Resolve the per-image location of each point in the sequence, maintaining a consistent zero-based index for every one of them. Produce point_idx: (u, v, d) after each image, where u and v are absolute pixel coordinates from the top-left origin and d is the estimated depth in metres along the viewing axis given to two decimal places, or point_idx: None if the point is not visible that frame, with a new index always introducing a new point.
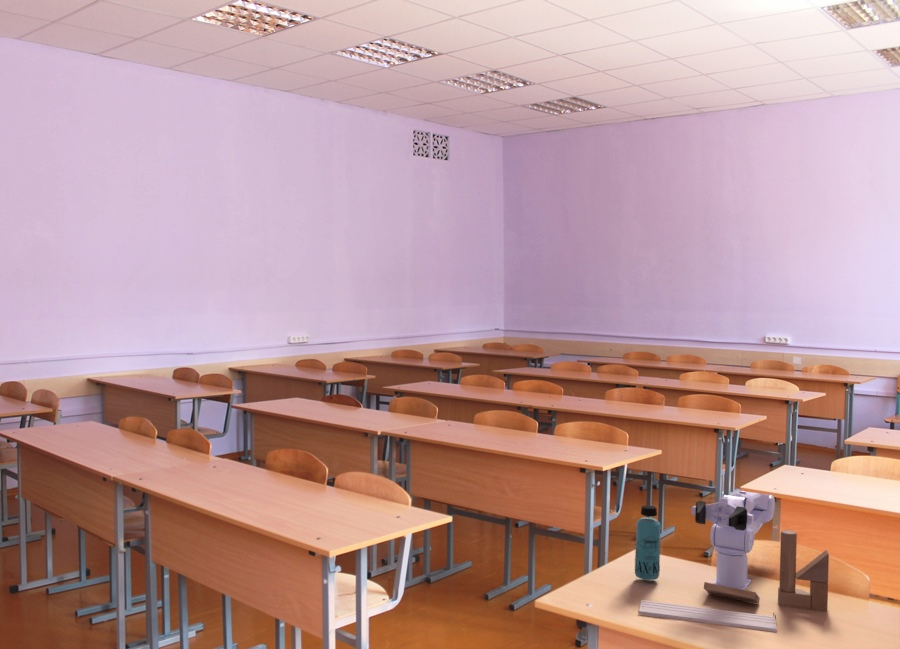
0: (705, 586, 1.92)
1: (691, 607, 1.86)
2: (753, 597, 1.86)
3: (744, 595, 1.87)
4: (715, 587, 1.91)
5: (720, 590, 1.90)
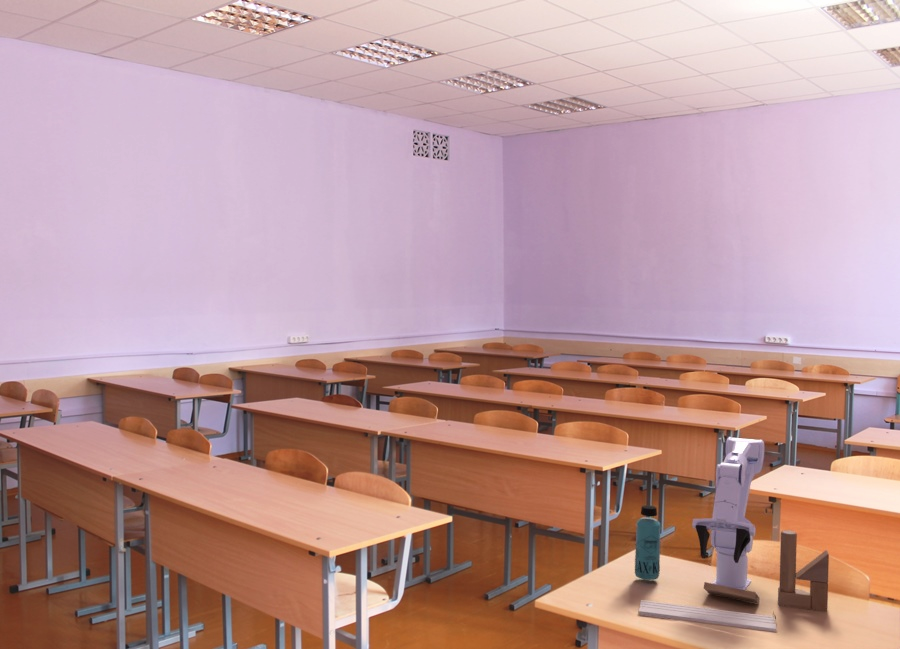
0: (705, 586, 1.92)
1: (691, 607, 1.86)
2: (753, 597, 1.86)
3: (744, 595, 1.87)
4: (715, 587, 1.91)
5: (720, 590, 1.90)
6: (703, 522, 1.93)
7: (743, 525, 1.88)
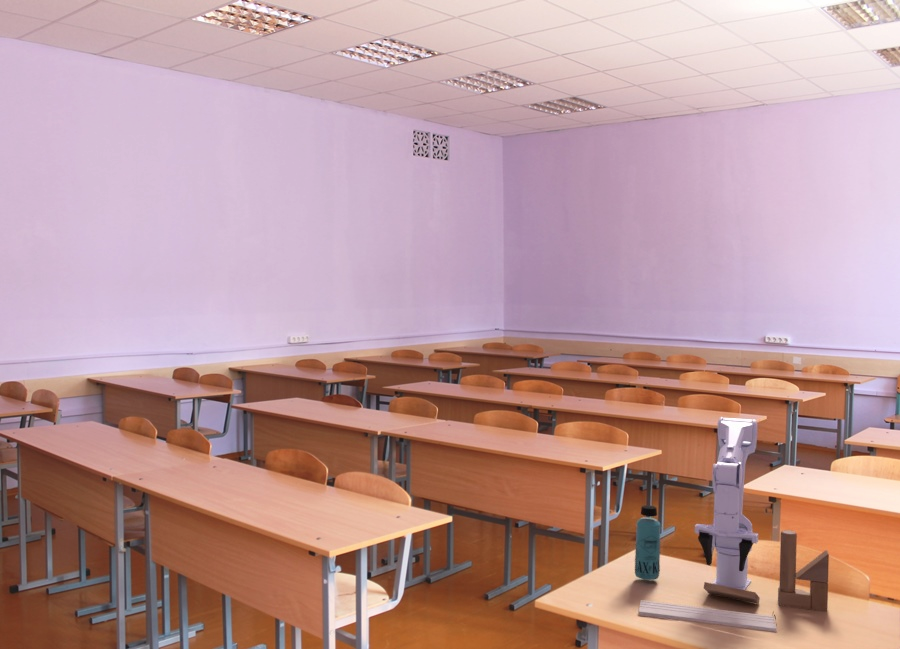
0: (705, 586, 1.92)
1: (691, 607, 1.86)
2: (753, 597, 1.86)
3: (744, 595, 1.87)
4: (715, 587, 1.91)
5: (720, 590, 1.90)
6: None
7: (745, 536, 1.86)
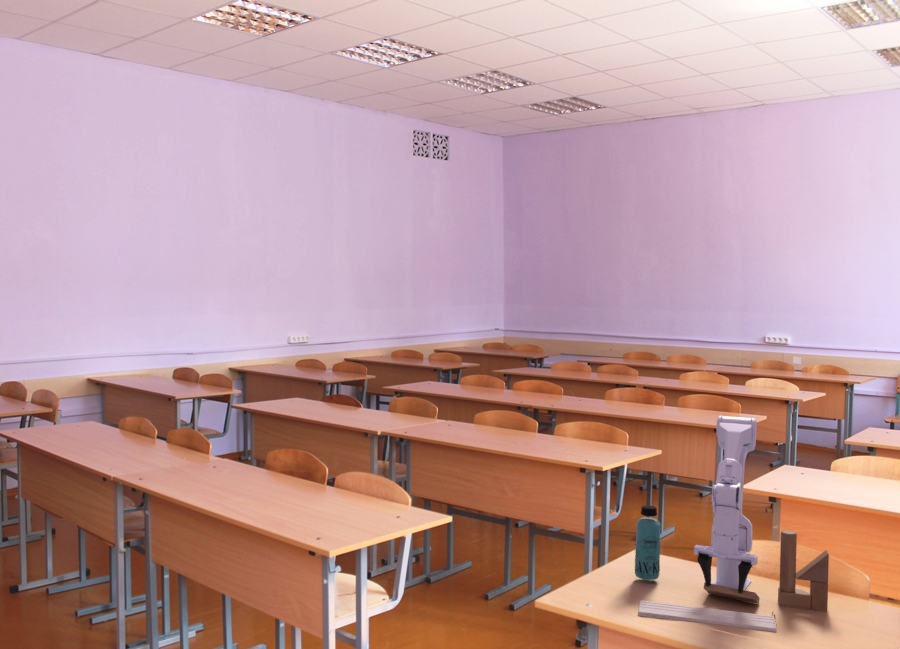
0: (705, 586, 1.92)
1: (690, 607, 1.86)
2: (753, 597, 1.86)
3: (744, 595, 1.87)
4: (715, 587, 1.91)
5: (720, 590, 1.90)
6: None
7: (745, 558, 1.86)
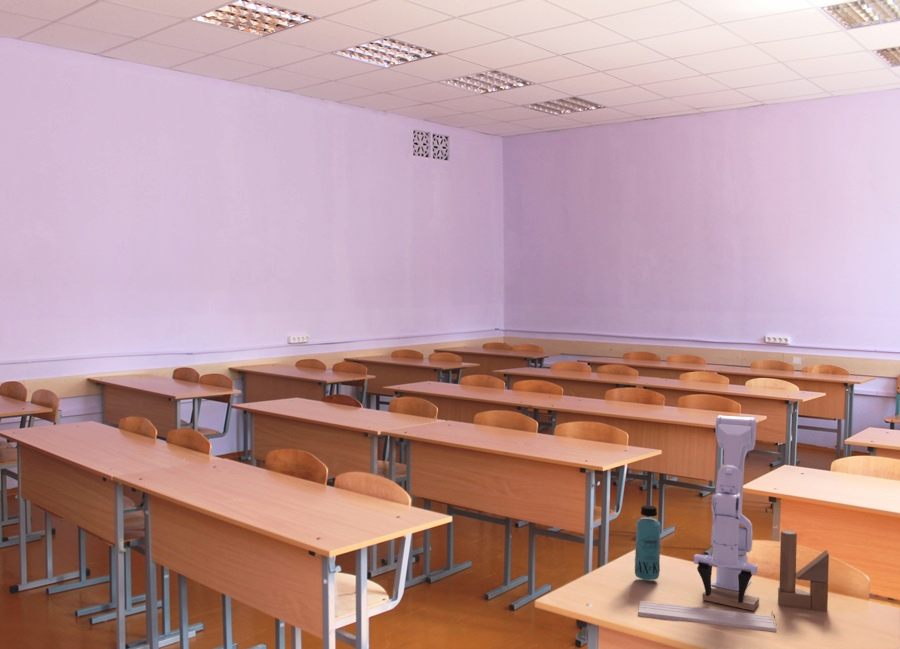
0: (704, 598, 1.92)
1: (690, 607, 1.86)
2: (752, 609, 1.86)
3: (743, 607, 1.87)
4: (714, 599, 1.90)
5: (719, 602, 1.90)
6: None
7: (744, 568, 1.86)
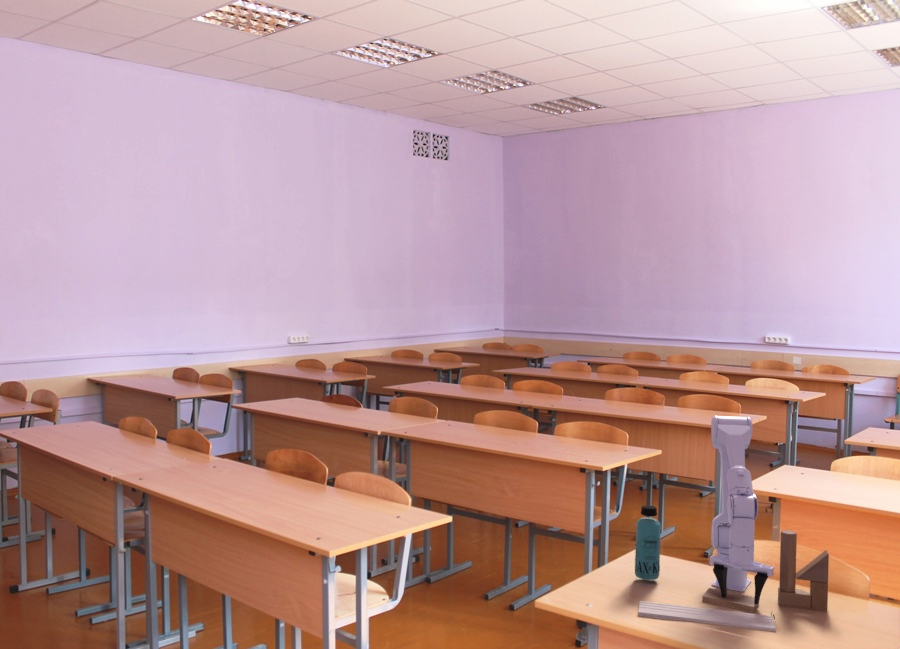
0: (704, 600, 1.92)
1: (689, 607, 1.86)
2: (752, 611, 1.86)
3: (743, 609, 1.87)
4: (714, 601, 1.90)
5: (719, 604, 1.90)
6: None
7: (761, 570, 1.85)
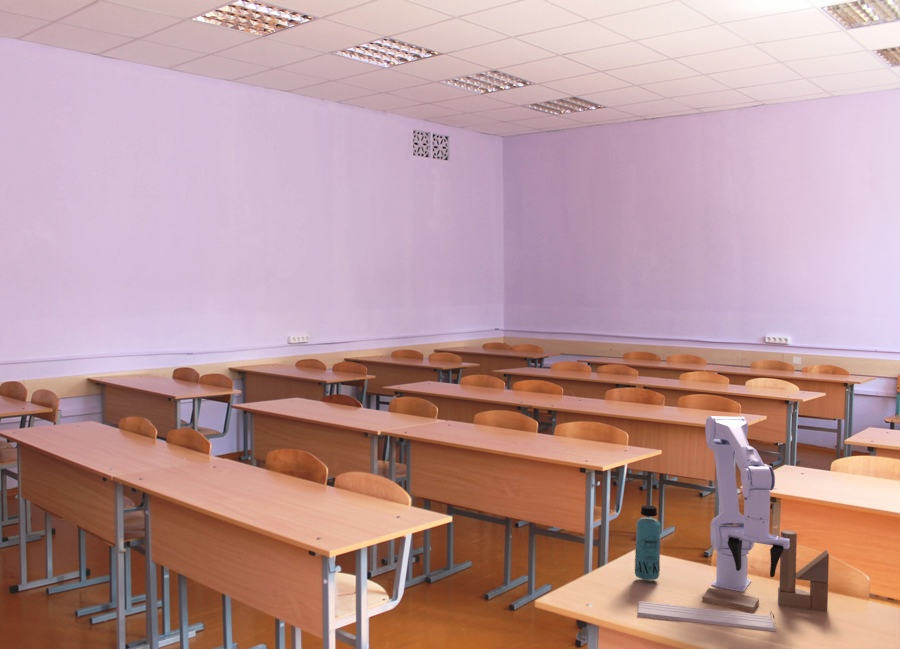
0: (704, 600, 1.92)
1: (689, 608, 1.86)
2: None
3: None
4: (714, 602, 1.90)
5: (719, 604, 1.90)
6: None
7: (777, 542, 1.82)
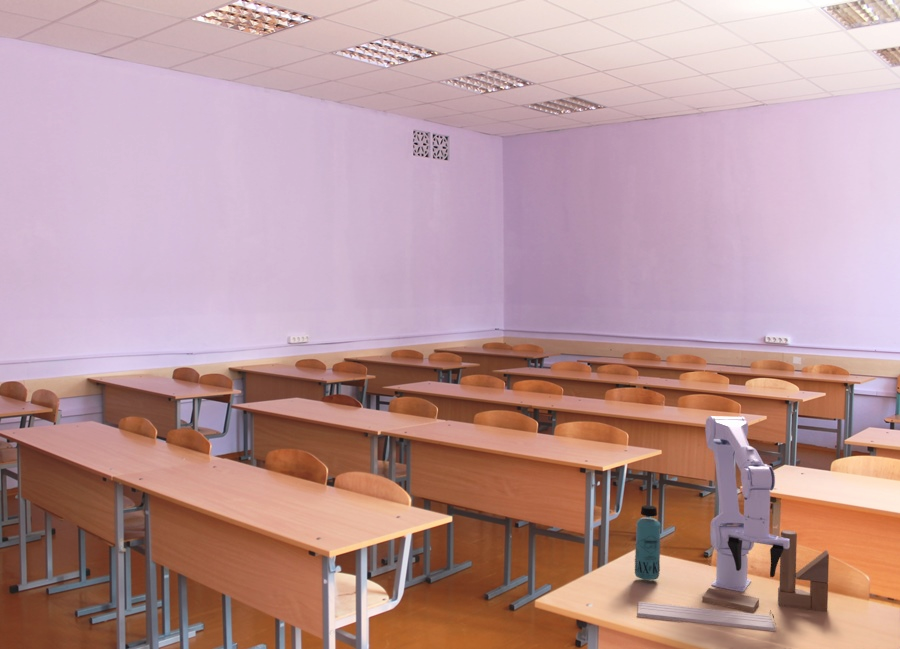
0: (704, 600, 1.92)
1: (689, 608, 1.86)
2: None
3: None
4: (714, 602, 1.90)
5: (719, 604, 1.90)
6: None
7: (777, 542, 1.82)
